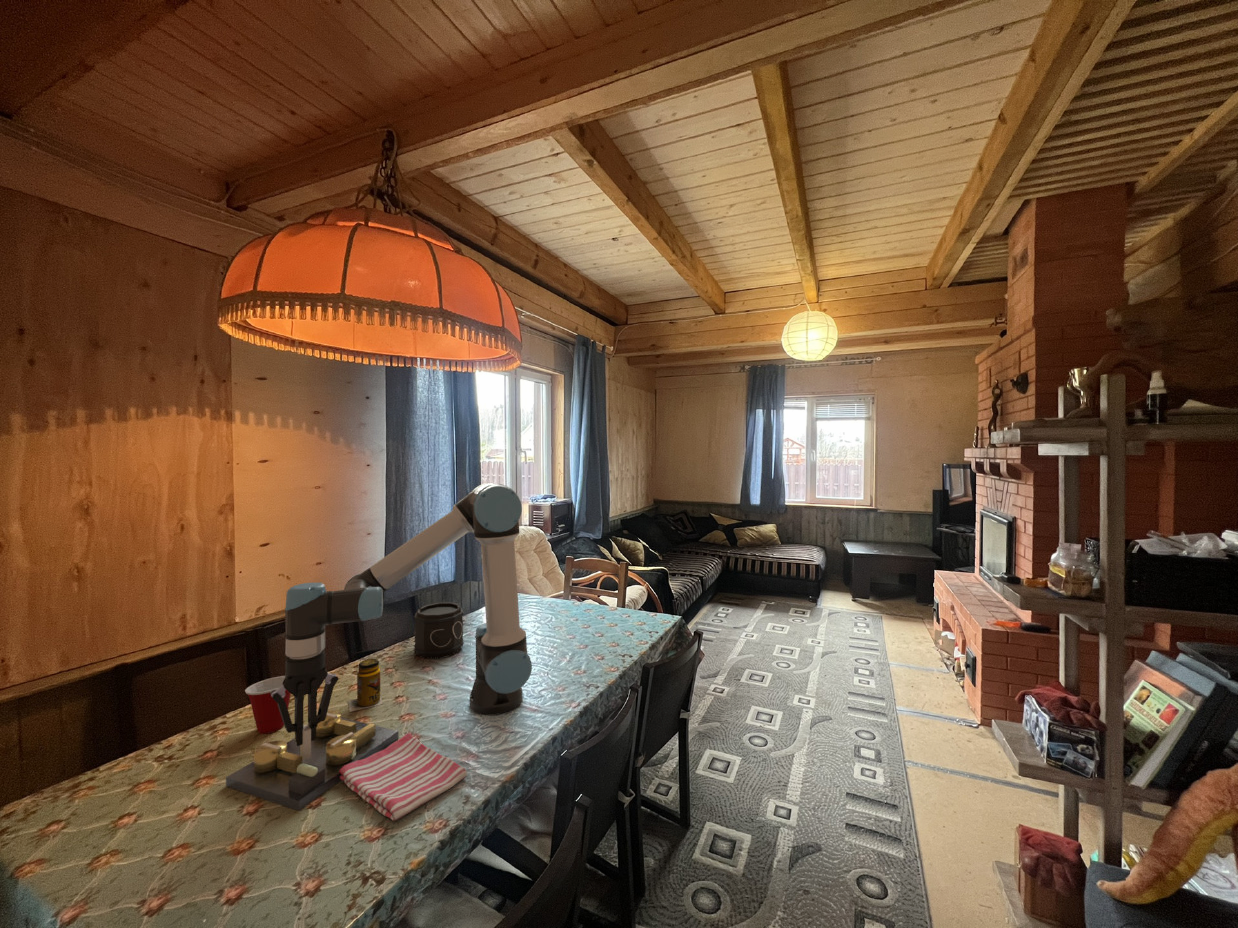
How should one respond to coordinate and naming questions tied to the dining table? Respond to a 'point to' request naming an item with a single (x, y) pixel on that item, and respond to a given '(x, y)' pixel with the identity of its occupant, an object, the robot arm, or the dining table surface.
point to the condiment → (367, 686)
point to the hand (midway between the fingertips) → (305, 756)
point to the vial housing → (306, 778)
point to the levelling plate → (277, 780)
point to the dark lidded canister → (438, 630)
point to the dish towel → (401, 777)
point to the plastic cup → (267, 704)
